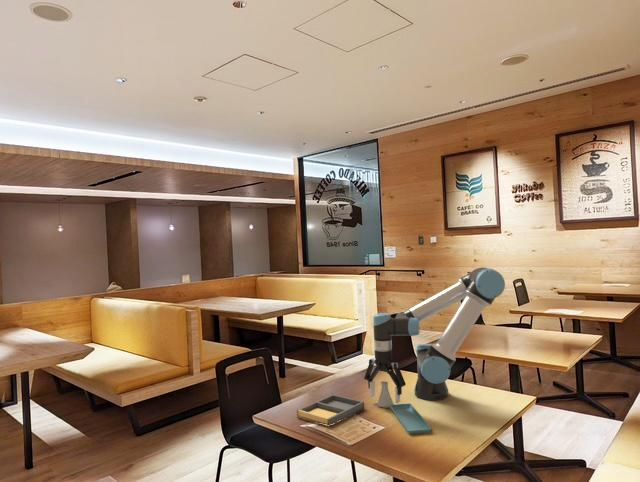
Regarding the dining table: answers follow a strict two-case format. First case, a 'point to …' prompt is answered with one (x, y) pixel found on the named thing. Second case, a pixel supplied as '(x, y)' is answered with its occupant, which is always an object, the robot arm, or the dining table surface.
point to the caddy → (330, 409)
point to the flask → (384, 396)
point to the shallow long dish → (410, 419)
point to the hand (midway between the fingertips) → (385, 399)
